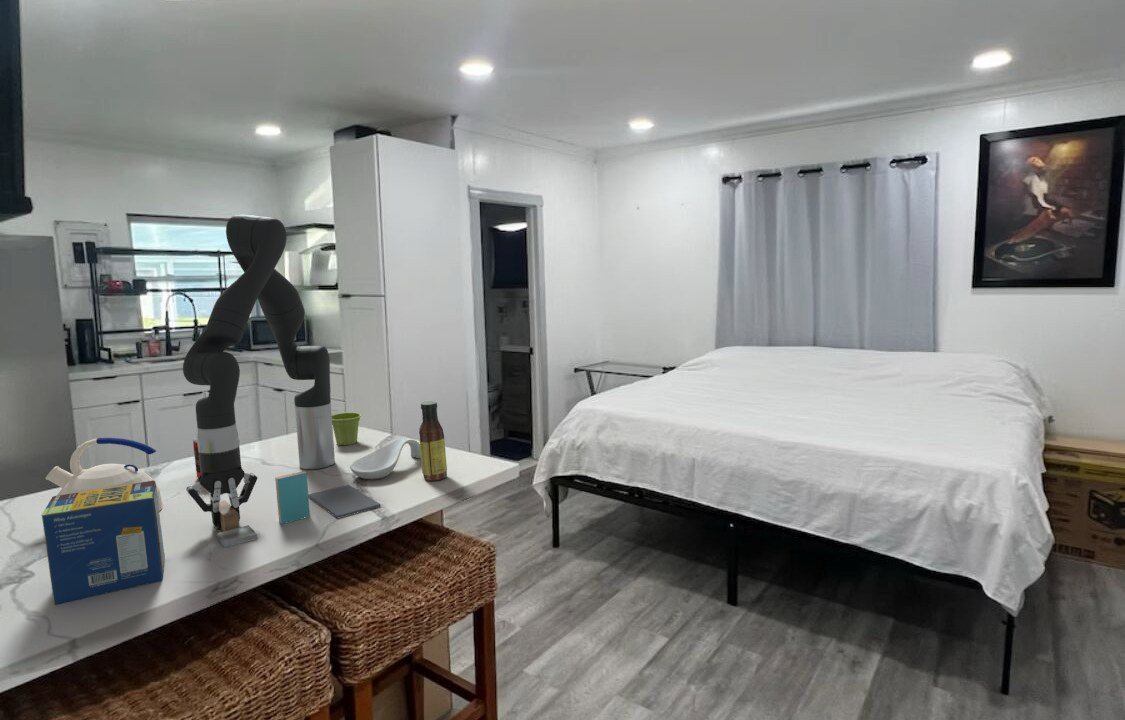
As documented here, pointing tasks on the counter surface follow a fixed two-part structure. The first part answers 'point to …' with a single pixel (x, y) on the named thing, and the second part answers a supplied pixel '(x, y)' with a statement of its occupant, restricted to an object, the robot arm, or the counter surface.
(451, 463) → the counter surface
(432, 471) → the sauce bottle
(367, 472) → the spoon rest
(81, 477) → the kettle
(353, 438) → the plant pot
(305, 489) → the tile
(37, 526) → the counter surface
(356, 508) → the mat
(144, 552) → the protein box
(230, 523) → the tall tan post
